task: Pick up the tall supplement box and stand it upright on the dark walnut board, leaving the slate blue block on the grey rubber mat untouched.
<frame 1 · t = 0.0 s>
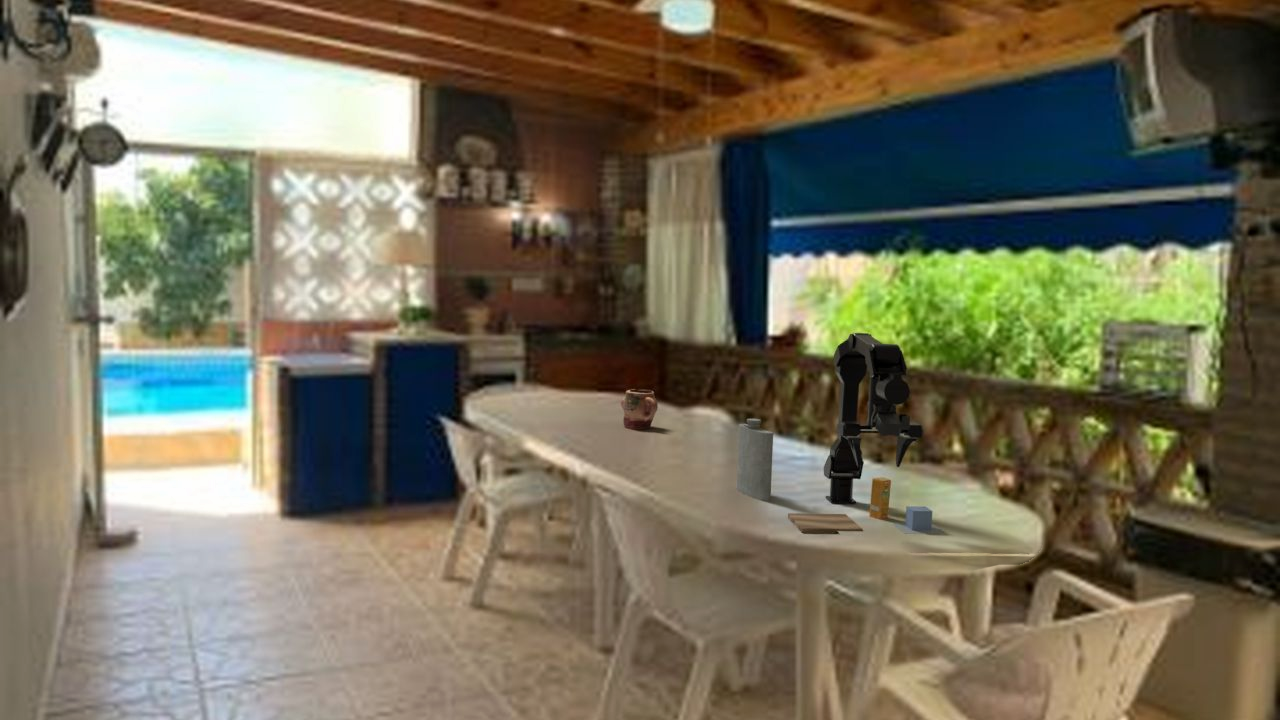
hand: (878, 466, 231), 15 cm above the table, fingers open, 9 cm apart
hip flask: (751, 494, 266), on the table
grey mat: (918, 530, 232), on the table
walnut board: (824, 525, 235), on the table
decorative planter: (639, 428, 371), on the table
supplement box: (879, 520, 242), on the table
slate blue block: (918, 527, 232), point 1 cm above the table, touching grey mat
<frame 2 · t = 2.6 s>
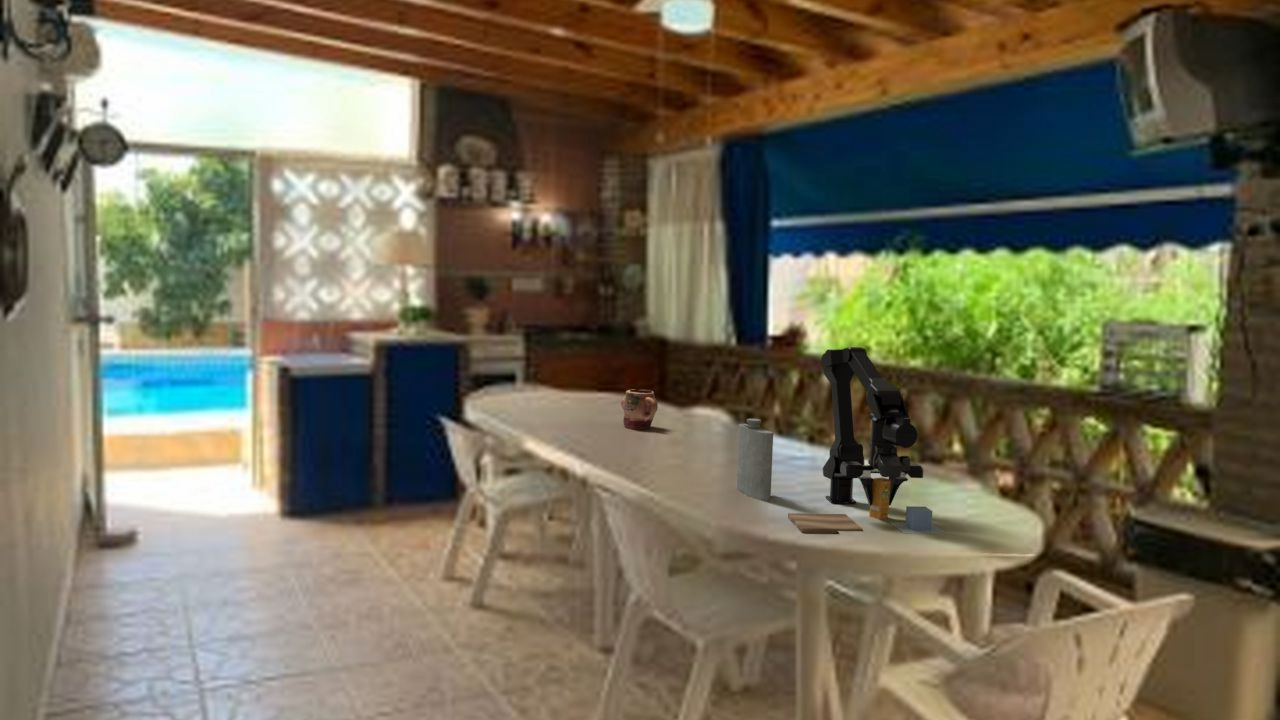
hand: (879, 505, 241), 4 cm above the table, fingers closed on supplement box, 4 cm apart
supplement box: (879, 520, 242), on the table, touching gripper
everything else where it was.
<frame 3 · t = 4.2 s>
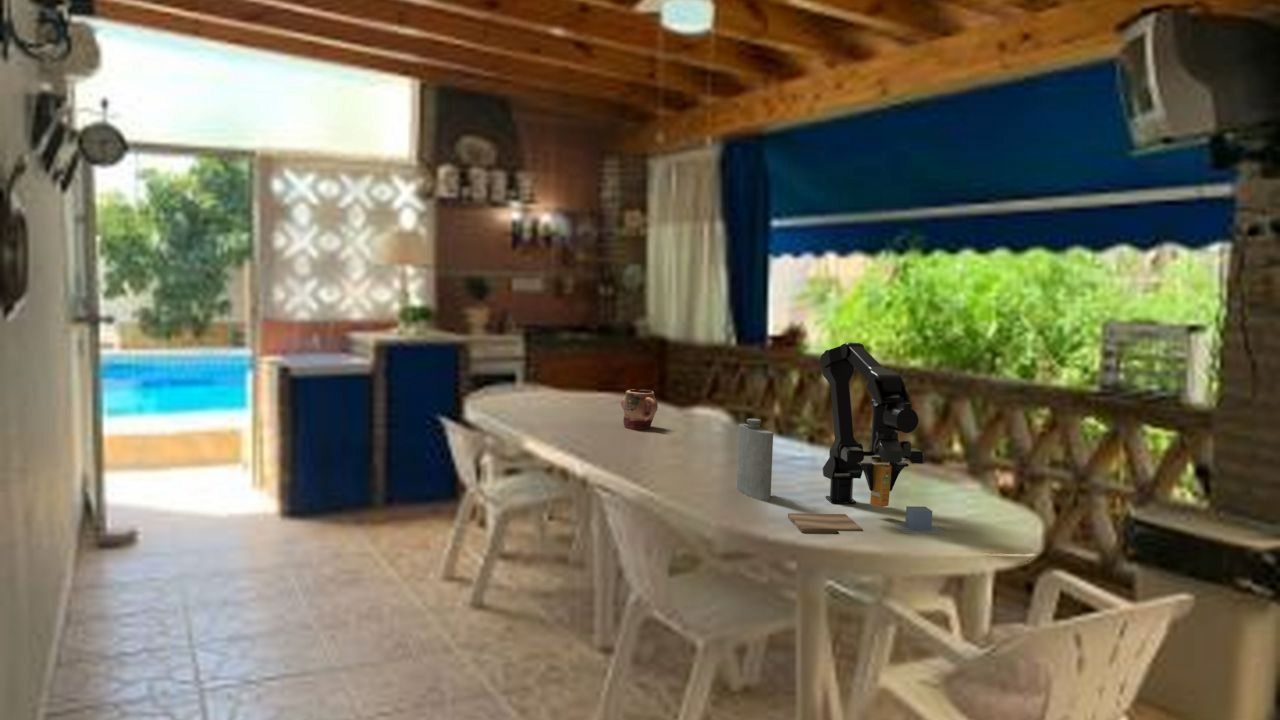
hand: (880, 490, 241), 7 cm above the table, fingers closed on supplement box, 4 cm apart
supplement box: (879, 506, 241), point 3 cm above the table, touching gripper
everything else where it was.
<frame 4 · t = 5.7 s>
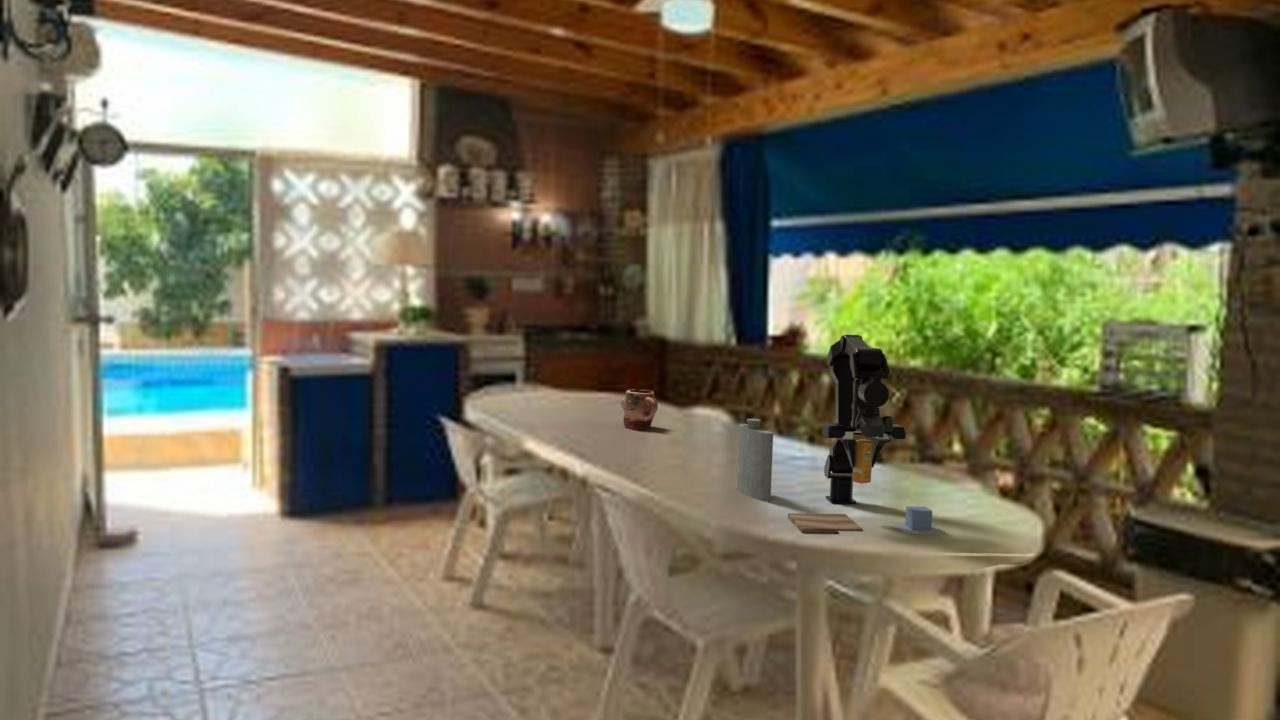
hand: (862, 467, 238), 13 cm above the table, fingers closed on supplement box, 4 cm apart
supplement box: (862, 483, 238), point 9 cm above the table, touching gripper
everything else where it was.
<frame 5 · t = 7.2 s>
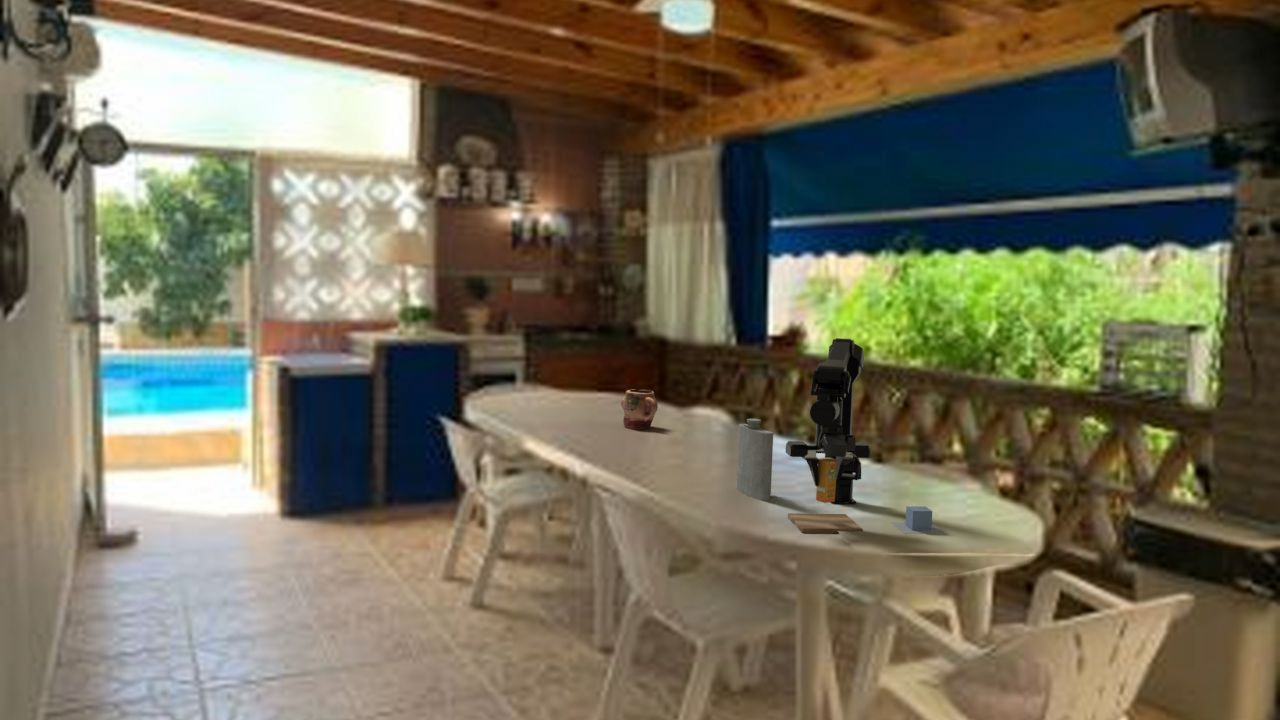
hand: (826, 486, 234), 9 cm above the table, fingers closed on supplement box, 4 cm apart
supplement box: (825, 502, 234), point 5 cm above the table, touching gripper
everything else where it was.
when the fingers open (5 cm above the table, at t = 8.6 s): supplement box stays where it is, resting on walnut board.
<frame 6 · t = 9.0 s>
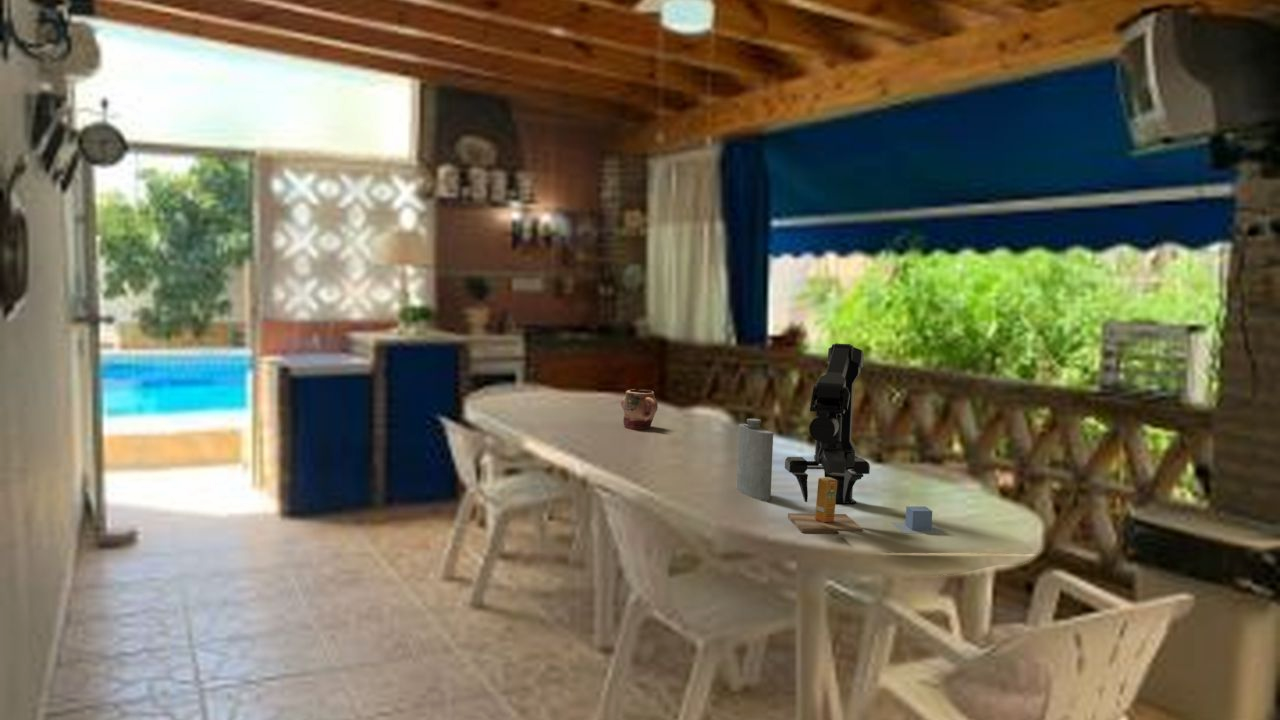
hand: (825, 501, 234), 5 cm above the table, fingers open, 9 cm apart
supplement box: (824, 521, 235), point 1 cm above the table, touching walnut board
everything else where it was.
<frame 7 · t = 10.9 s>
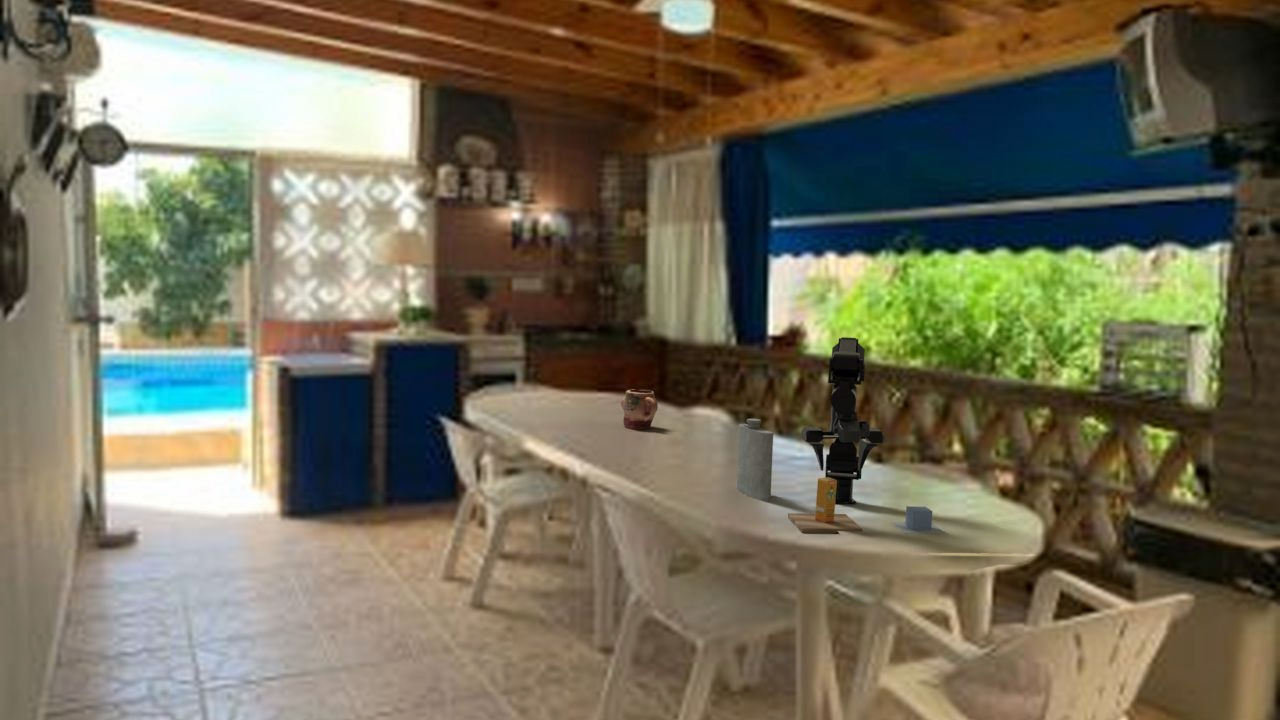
hand: (840, 470, 241), 12 cm above the table, fingers open, 9 cm apart
nothing on the table moved.
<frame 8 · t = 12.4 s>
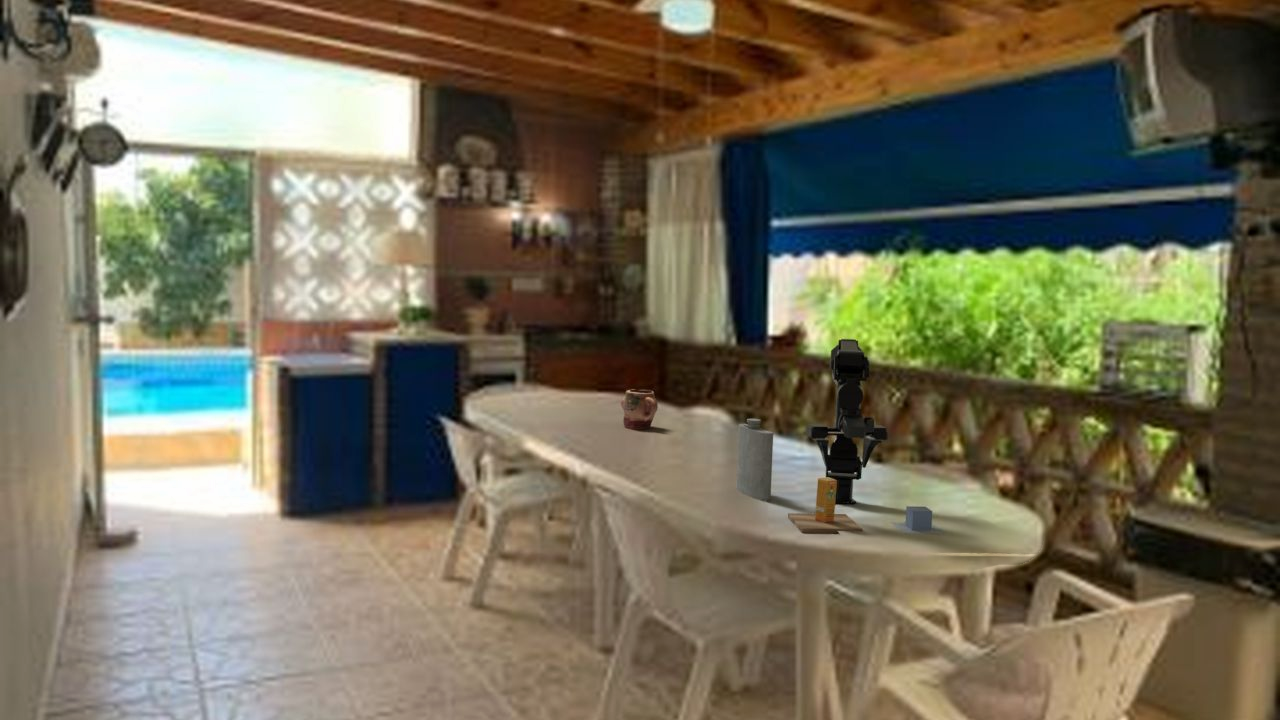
hand: (845, 467, 243), 12 cm above the table, fingers open, 9 cm apart
nothing on the table moved.
at the end: supplement box inside the target area on the walnut board (0.1 cm from its centre), point 0.8 cm above the walnut board's base; supplement box tilted 0°; slate blue block moved 0.0 cm from its start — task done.
